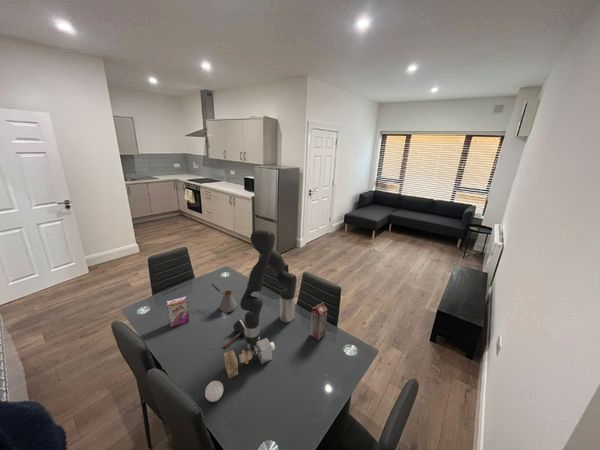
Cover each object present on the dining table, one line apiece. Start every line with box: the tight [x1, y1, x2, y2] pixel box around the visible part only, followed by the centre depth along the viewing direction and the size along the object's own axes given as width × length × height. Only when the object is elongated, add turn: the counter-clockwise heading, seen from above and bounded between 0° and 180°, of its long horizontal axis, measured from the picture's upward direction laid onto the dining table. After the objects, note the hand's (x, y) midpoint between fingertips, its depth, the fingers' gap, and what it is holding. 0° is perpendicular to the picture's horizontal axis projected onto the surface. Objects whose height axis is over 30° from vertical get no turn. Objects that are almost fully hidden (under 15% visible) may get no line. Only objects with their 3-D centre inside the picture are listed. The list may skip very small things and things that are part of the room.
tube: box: [238, 341, 276, 365], centre depth 127 cm, size 18×7×7 cm, turn 121°
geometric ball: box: [204, 380, 224, 403], centre depth 107 cm, size 8×8×8 cm
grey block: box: [257, 337, 273, 365], centre depth 129 cm, size 6×7×8 cm
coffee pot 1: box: [210, 283, 238, 313], centre depth 167 cm, size 21×12×15 cm, turn 61°
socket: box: [223, 349, 239, 379], centre depth 120 cm, size 4×8×9 cm, turn 31°
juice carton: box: [309, 301, 328, 341], centre depth 144 cm, size 7×7×22 cm
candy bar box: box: [165, 296, 190, 328], centre depth 149 cm, size 11×5×16 cm, turn 123°
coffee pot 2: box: [223, 319, 245, 349], centre depth 142 cm, size 8×18×8 cm
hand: (252, 357), depth 126 cm, fingers closed on tube, 4 cm apart
